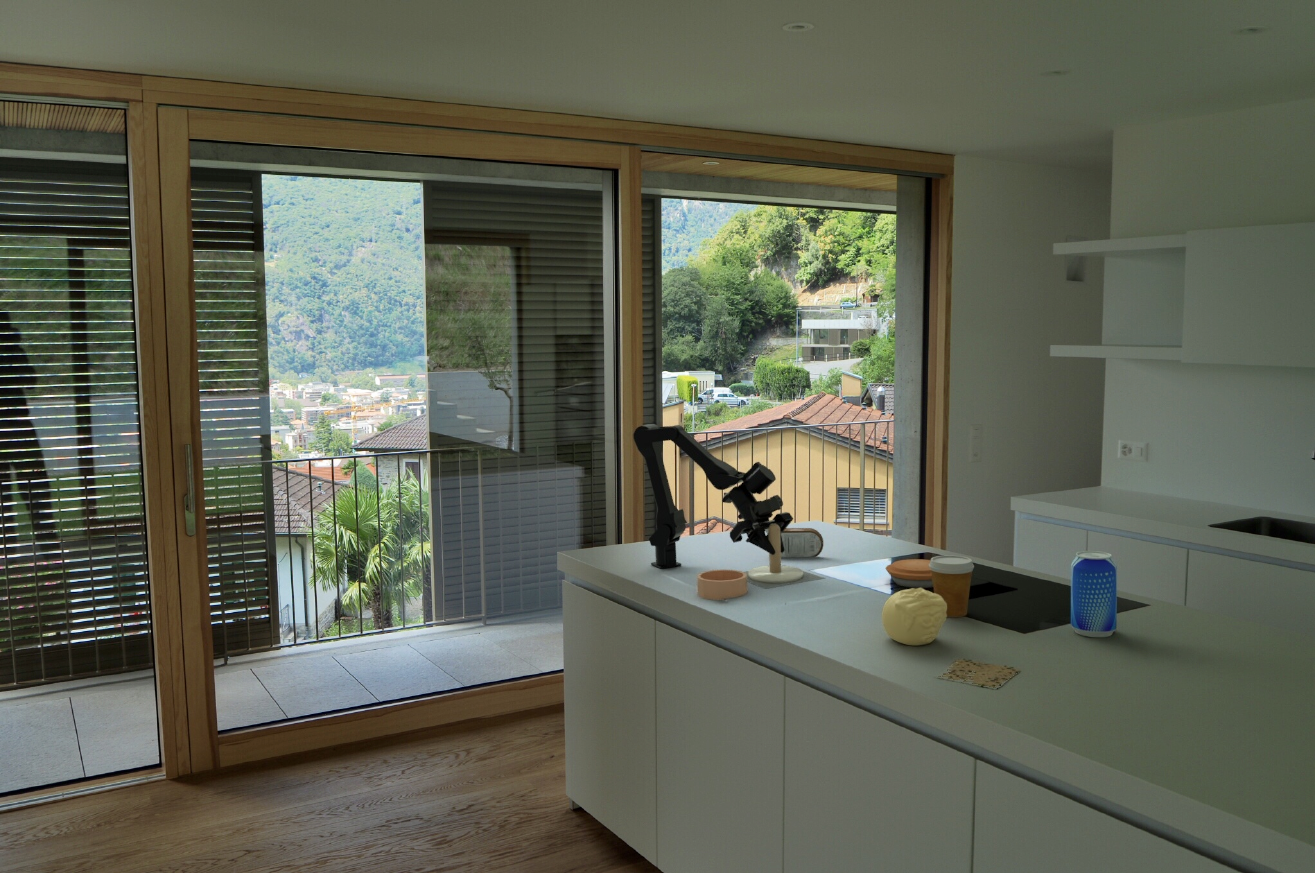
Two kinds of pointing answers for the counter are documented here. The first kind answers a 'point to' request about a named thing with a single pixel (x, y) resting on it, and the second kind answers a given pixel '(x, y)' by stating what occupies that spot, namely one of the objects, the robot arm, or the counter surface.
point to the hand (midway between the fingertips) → (778, 552)
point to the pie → (911, 573)
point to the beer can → (1093, 594)
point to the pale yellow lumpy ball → (914, 616)
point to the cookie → (980, 672)
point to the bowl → (721, 584)
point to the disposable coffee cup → (952, 582)
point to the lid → (775, 564)
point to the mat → (805, 578)
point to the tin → (801, 542)
